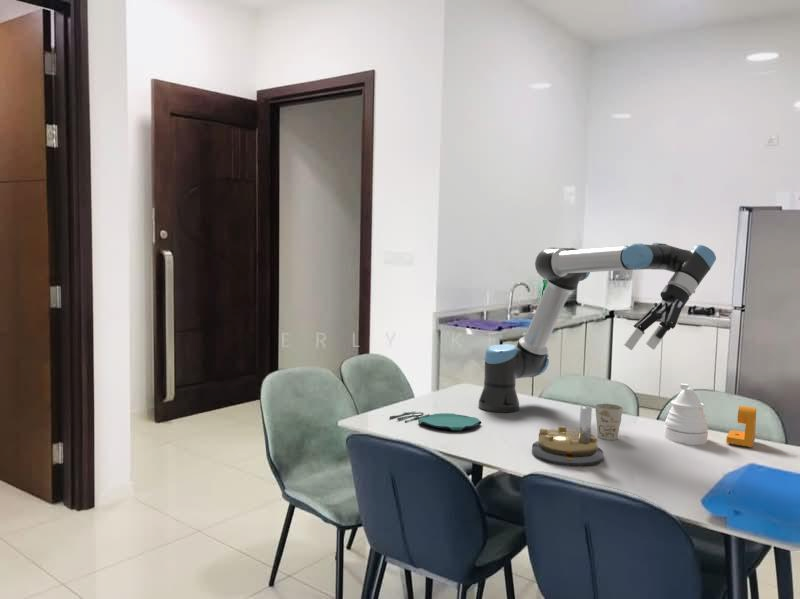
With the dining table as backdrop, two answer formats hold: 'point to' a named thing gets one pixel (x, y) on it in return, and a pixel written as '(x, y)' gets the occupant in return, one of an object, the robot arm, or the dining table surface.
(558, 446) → the round peg stand
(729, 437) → the bracket
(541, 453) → the disc
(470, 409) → the dining table surface
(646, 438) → the dining table surface
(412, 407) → the dining table surface
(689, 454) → the dining table surface
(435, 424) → the cutlery set
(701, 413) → the honey pot
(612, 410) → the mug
